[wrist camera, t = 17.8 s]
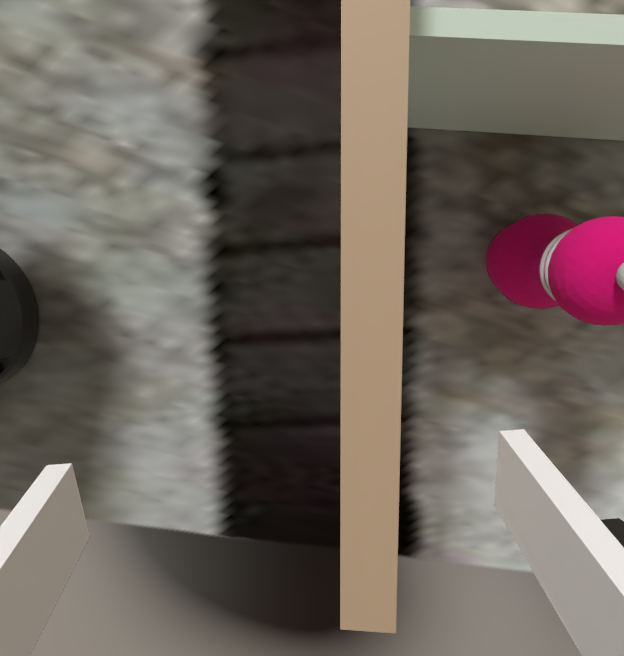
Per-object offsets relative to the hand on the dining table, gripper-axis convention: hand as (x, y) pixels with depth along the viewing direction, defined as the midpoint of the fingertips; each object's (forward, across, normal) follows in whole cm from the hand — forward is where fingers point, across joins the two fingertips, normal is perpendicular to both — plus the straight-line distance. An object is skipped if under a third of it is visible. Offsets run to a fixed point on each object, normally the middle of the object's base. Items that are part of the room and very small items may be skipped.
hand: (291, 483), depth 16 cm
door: (+31, +19, +11) cm, 38 cm away
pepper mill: (+29, +20, 0) cm, 36 cm away
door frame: (+31, +7, +1) cm, 32 cm away
